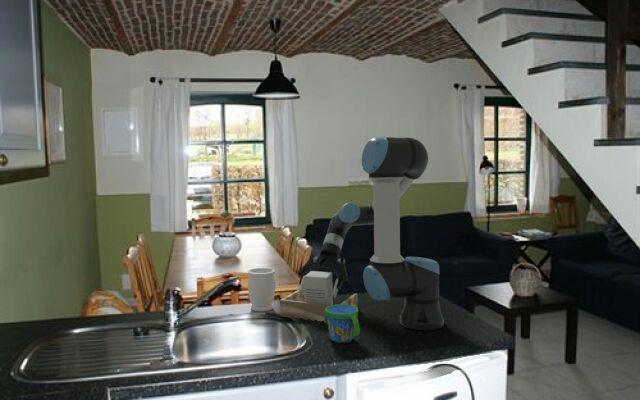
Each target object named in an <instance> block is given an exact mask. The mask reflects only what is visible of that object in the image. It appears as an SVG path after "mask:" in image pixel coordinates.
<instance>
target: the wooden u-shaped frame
mask: <svg viewBox="0 0 640 400" xmlns="http://www.w3.org/2000/svg"><path fill="white" fill-rule="evenodd" d="M298 290H299V289H297V290H295V291H293V292H291V293H290V294H288V295H286V296H285V297H283V298H281V299H280V300H279V316H280V317H283V318H284V317H286V318H291V317H293V318H292V319H299V318H303V319H302V320H307V319H311V320H310V321H314V320H317V321H316V322H322V321H324V318H325V309H326V307H328V306H331V305H326V304H318V303H309V302H305V298H304V291H303V294H300V292H299V291H298ZM340 304H345V305H351V306H355V307H356V308H358V293H353V294H352V295H350V296H349V297H348V298H346V299H345V300H344V301H342V302H341V303H340ZM323 323H325V321H324V322H323Z"/></svg>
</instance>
